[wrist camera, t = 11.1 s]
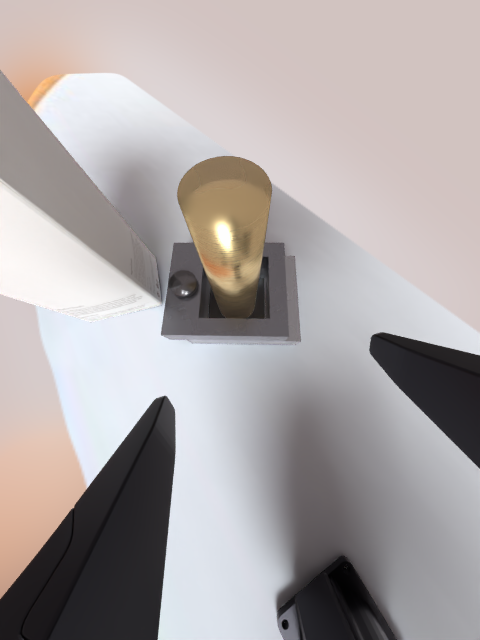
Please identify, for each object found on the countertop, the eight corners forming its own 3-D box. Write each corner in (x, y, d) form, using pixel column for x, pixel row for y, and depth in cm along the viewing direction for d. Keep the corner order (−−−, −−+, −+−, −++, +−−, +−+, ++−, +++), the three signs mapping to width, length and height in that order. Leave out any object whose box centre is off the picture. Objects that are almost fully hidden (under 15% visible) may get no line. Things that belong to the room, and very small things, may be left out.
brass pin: (262, 298, 20) (289, 178, 8) (241, 328, 20) (236, 245, 7) (232, 280, 21) (214, 144, 9) (211, 308, 20) (157, 201, 8)
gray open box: (290, 266, 22) (301, 238, 17) (295, 344, 19) (310, 335, 15) (186, 266, 22) (171, 238, 17) (177, 343, 19) (157, 333, 15)
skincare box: (158, 258, 22) (-19, 21, 7) (164, 309, 20) (-55, 131, 5) (86, 274, 22) (-251, 57, 7) (86, 327, 20) (-373, 188, 5)
